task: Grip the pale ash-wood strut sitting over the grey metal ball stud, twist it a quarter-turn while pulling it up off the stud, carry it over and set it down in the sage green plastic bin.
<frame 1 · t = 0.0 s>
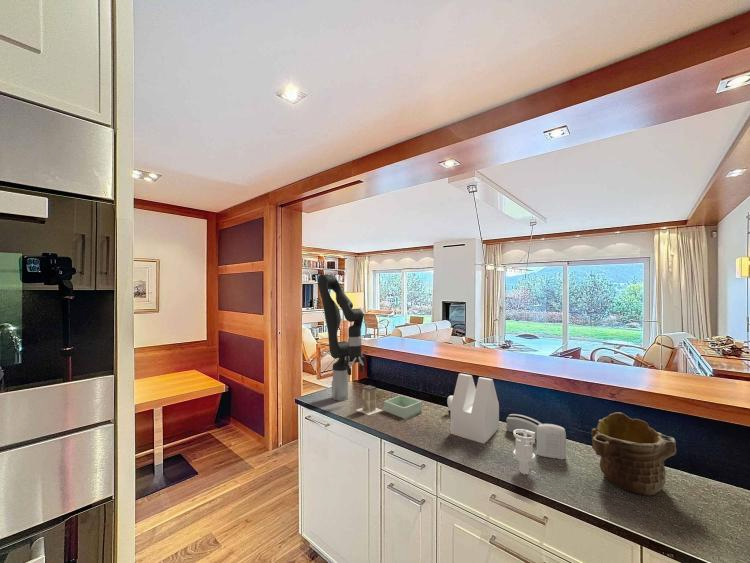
hand: (355, 373, 184), 17 cm above the counter, tool pointing down, fingers open, 8 cm apart
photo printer: (551, 456, 129), on the counter
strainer: (524, 472, 118), on the counter
bin: (402, 412, 172), on the counter
ceramic vessel: (626, 484, 111), on the counter
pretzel: (456, 413, 171), on the counter
white notched block: (475, 431, 151), on the counter
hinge: (525, 436, 146), on the counter
stud base: (369, 411, 173), on the counter
strut: (369, 410, 173), point 1 cm above the counter, touching stud base
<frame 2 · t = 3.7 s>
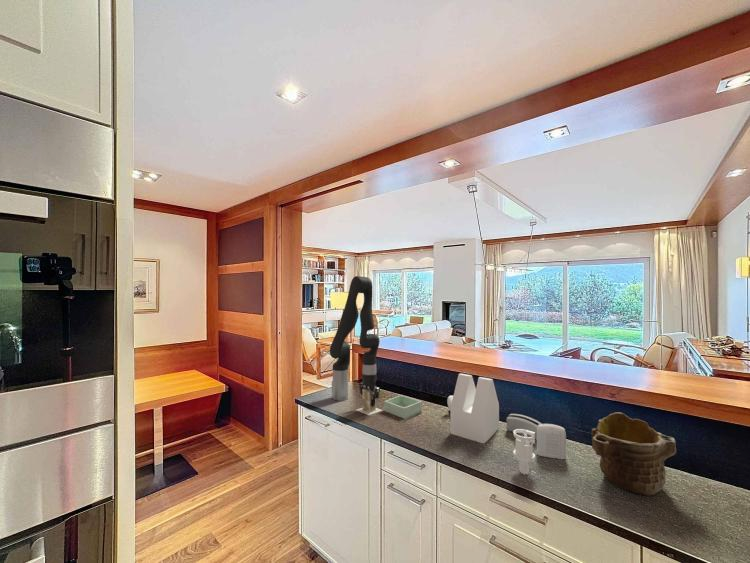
hand: (369, 404, 173), 4 cm above the counter, tool pointing down, fingers closed on strut, 5 cm apart
strut: (369, 410, 173), point 1 cm above the counter, touching gripper, stud base
everything else where it was.
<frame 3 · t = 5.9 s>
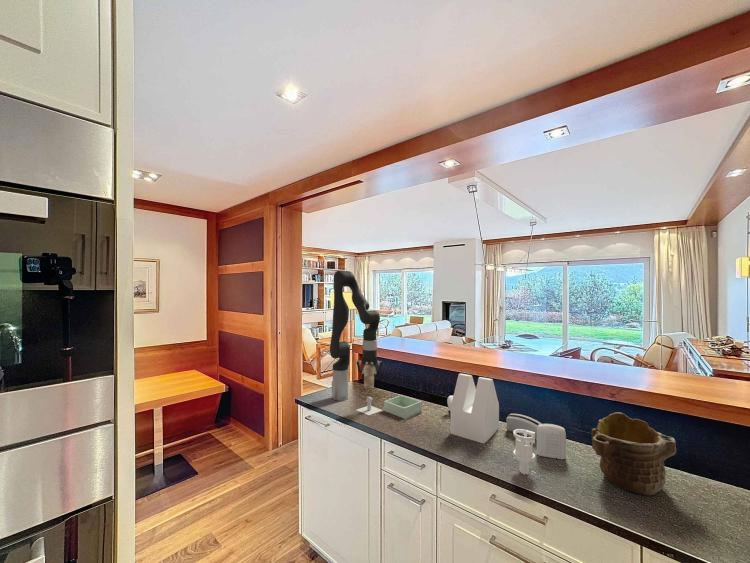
hand: (369, 380, 173), 17 cm above the counter, tool pointing down, fingers closed on strut, 5 cm apart
strut: (369, 386, 173), point 14 cm above the counter, touching gripper
everything else where it was.
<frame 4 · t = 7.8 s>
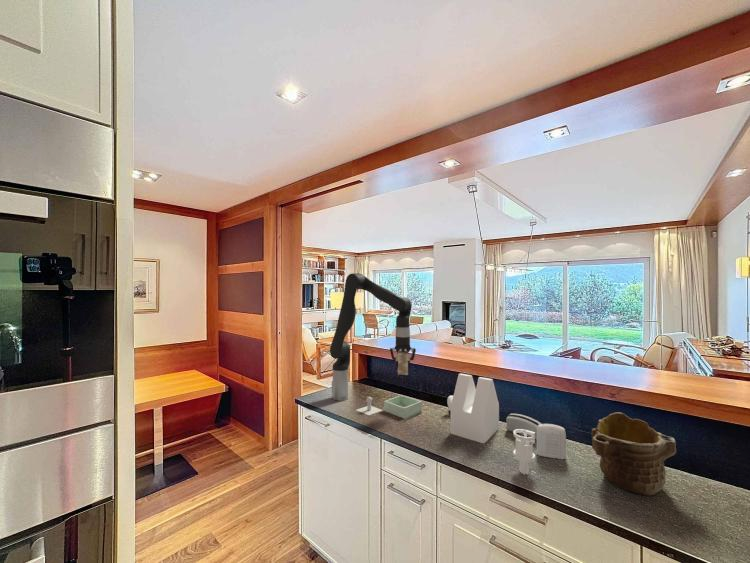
hand: (402, 367, 172), 24 cm above the counter, tool pointing down, fingers closed on strut, 5 cm apart
strut: (402, 373, 172), point 21 cm above the counter, touching gripper
everything else where it was.
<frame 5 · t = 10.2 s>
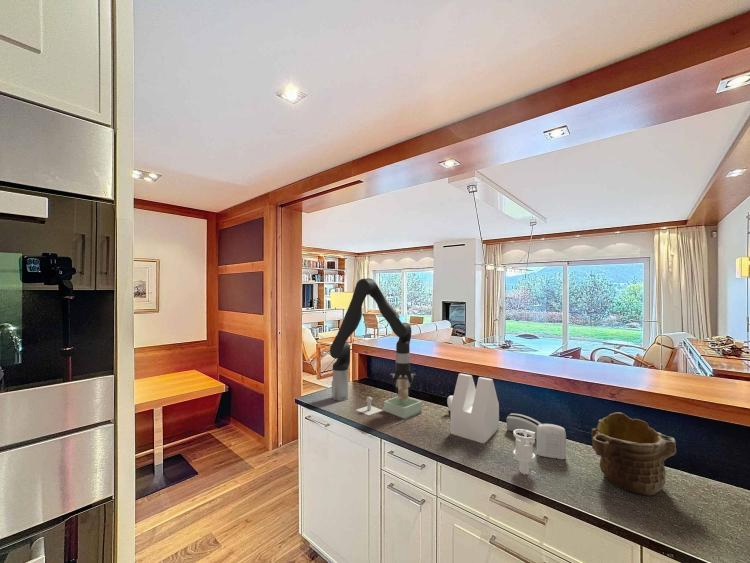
hand: (402, 393, 172), 10 cm above the counter, tool pointing down, fingers closed on strut, 5 cm apart
strut: (402, 399, 172), point 7 cm above the counter, touching gripper
everything else where it was.
when the fingers open (5 cm above the counter, at t = 12.1 s): strut drops 1 cm, resting on bin.
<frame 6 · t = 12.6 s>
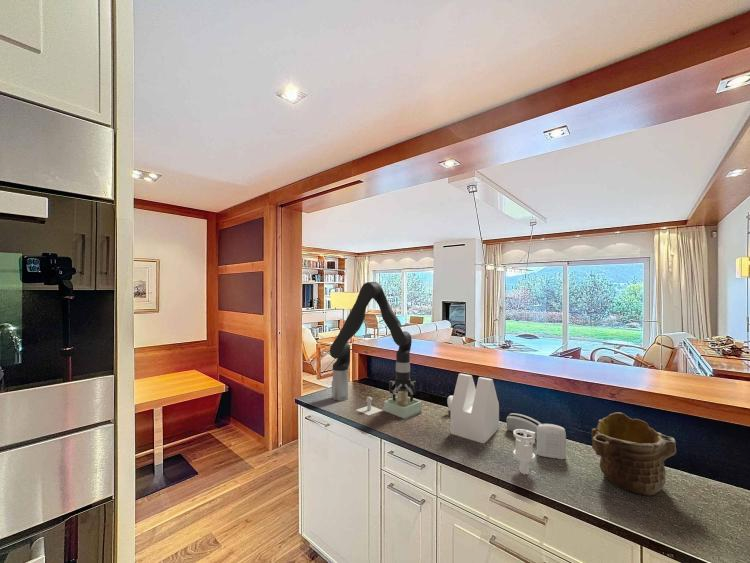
hand: (402, 401, 172), 6 cm above the counter, tool pointing down, fingers open, 8 cm apart
strut: (402, 410, 172), point 1 cm above the counter, touching bin
everything else where it was.
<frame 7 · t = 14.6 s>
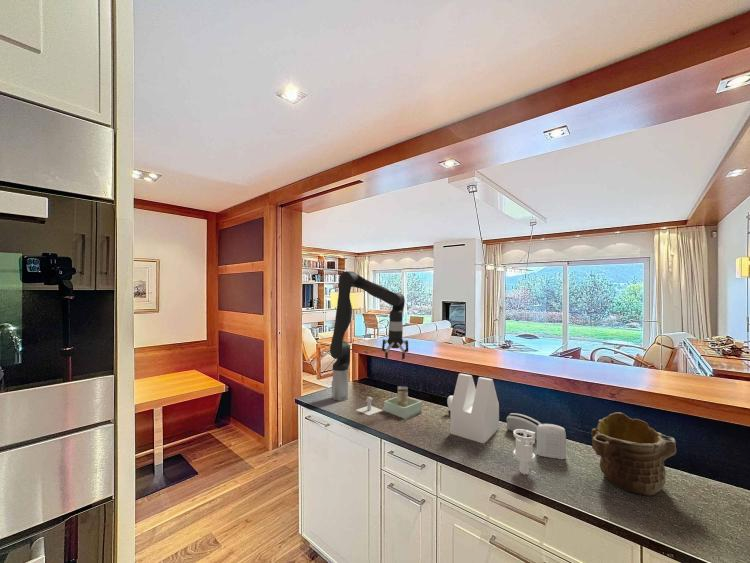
hand: (394, 359, 178), 27 cm above the counter, tool pointing down, fingers open, 8 cm apart
nothing on the counter moved.
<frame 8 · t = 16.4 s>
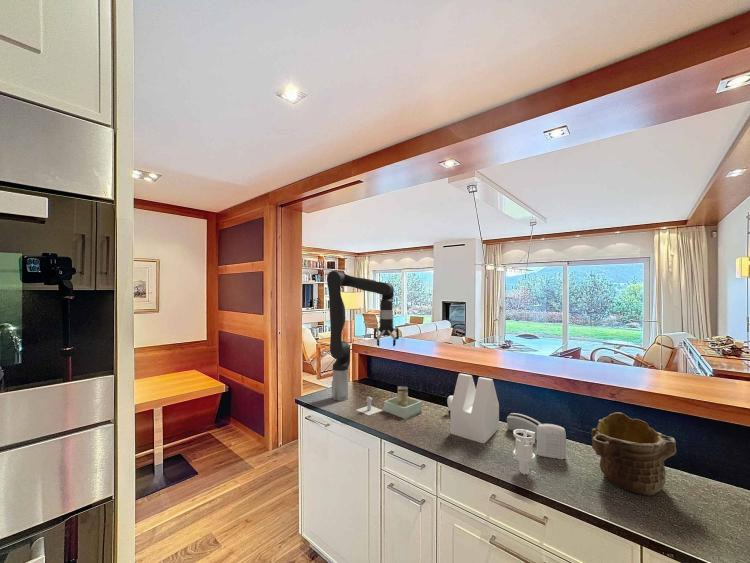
hand: (386, 346, 186), 32 cm above the counter, tool pointing down, fingers open, 8 cm apart
nothing on the counter moved.
at the end: strut inside the target area on the bin (0.1 cm from its centre), point 1.0 cm above the bin's base; the gripper is holding nothing; strut moved 17.6 cm from its start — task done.
